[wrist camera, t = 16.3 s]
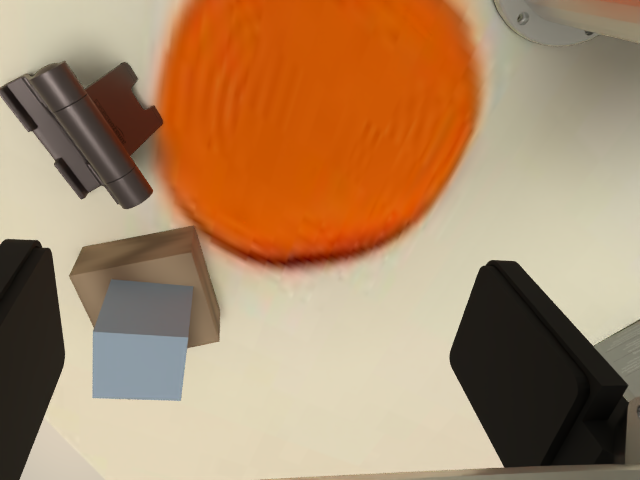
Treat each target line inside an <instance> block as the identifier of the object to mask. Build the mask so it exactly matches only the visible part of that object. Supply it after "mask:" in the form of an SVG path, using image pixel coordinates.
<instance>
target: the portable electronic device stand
mask: <svg viewBox="0 0 640 480" xmlns="http://www.w3.org/2000/svg"><path fill="white" fill-rule="evenodd" d="M137 79H138V78H137V77H136V75H135V73H134V72H133V70H132V68H131V67H130V66H129V65H128V64H127V63H125V62H124V63H121V64H120V65H119V66H117V67H116V68H114V69H113V70H111V71H110V72H109V73H107V74H106V75H104V76H103V77H101V78H100V79H98V80H97V81H96V82H94V83H93V84H91V85H90V86H88V87H87V88H86V89H84V88H83V86H82V85H81V83H80V82H79V80H78V79H77V77H76V76H75V75H74V73H73V72H72V70H71V69H70V67H69V66H68V64H67V63H66V61H63V62H61V63H53V64H50V65H47V66H45V67H43V68H41V69H40V70H39V71H37V72H36V74H35V75H34V76H32V77H31V76H30V75H28V74H25V75H23V76H21V77H19V78H17V79H15V80H13V81H11V82H9V83H7V84H5V85H4V86H2V87H0V96H1V98H2V99H3V100H4V101H5V103H6V104H7V105H8V106H9V108H10V109H11V110H12V112H13V113H14V114H15V115H16V117H17V118H18V119H19V121H20V122H21V123H22V124H23V126H24V127H25V128H26V130H27V131H28V132H30V131H33V132H34V134H35V135H36V136H37V138H38V139H39V140H40V141H41V143H42V144H43V145H44V147H45V148H46V149H47V151H48V152H49V153H50V154H51V156H52V157H53V158H54V160H55V163H54V165H55V167H56V168H57V169H58V171H59V172H60V173H61V174H62V176H63V177H64V178H65V180H66V181H67V182H68V183H69V185H70V186H71V187H72V189H73V190H74V191H75V192H76V194H77V195H78V196H79V198H80V199H83V198H85V197H86V196H87V194H88V193H89V192H91V191H92V190H94V189H96V188H97V187H99V186H101V185H102V186H104V187H105V188H106V189H107V191H108V192H109V193H110V195H111V196H112V197H113V199H114V200H115V202H116V203H117V204H120V205H121V206H122V208H124V209H129V208H132V207H135V206H137V205H139V204H140V203H142V202H143V201H145V200H146V199H147V198H148V197H150V195H151V194H152V193H153V189H152V188H151V186H150V185H149V183H148V182H147V181H146V179H145V178H144V176H143V175H142V173H141V172H140V170H139V169H138V167H137V166H136V165H135V163H134V161H133V160H132V158H131V157H130V156H131V155H132V154H133V153H134V152H135V151H136V150H137V149H138V148H139V147H140V146H141V145H142V144H143V143H144V142H145V141H146V140H147V139H148V138H149V137H150V136H151V135H152V134H153V133H154V132H155V131H156V130H157V129H158V128H159V127H160V126H161V125H162V123H163V121H162V118H161V116H160V114H159V113H158V111H157V109H156V108H155V106H152V107H150V108H148V109H146V110H144V109H143V108H142V107H141V106H140V104H139V102H138V101H137V99H136V98H135V96H134V94H133V93H132V90H131V87H132V86H133V84H134V83H135V82H136V81H137Z"/></svg>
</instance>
